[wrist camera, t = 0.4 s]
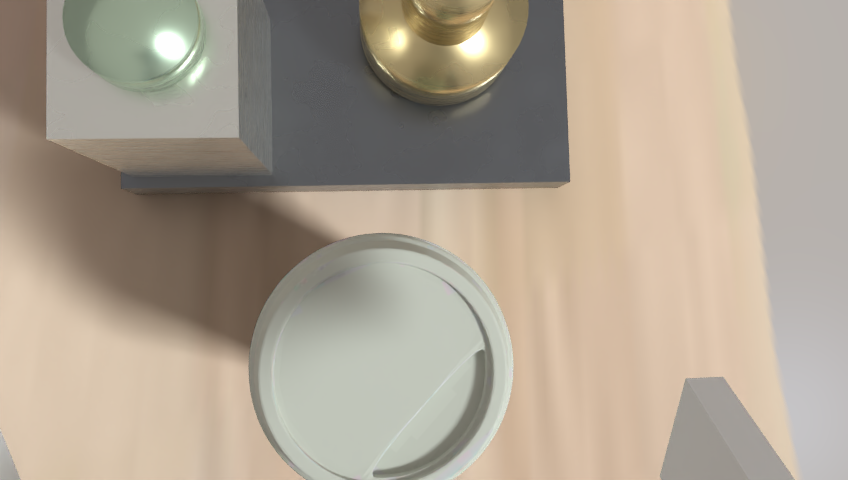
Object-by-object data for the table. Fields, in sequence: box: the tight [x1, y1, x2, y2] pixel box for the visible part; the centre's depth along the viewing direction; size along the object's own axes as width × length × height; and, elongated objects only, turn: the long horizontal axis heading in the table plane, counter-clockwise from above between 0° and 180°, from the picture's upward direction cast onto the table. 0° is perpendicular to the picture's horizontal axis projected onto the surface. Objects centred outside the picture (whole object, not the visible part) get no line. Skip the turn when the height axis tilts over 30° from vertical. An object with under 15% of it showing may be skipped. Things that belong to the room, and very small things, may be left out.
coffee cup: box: [249, 233, 513, 480], centre depth 26 cm, size 8×8×12 cm
